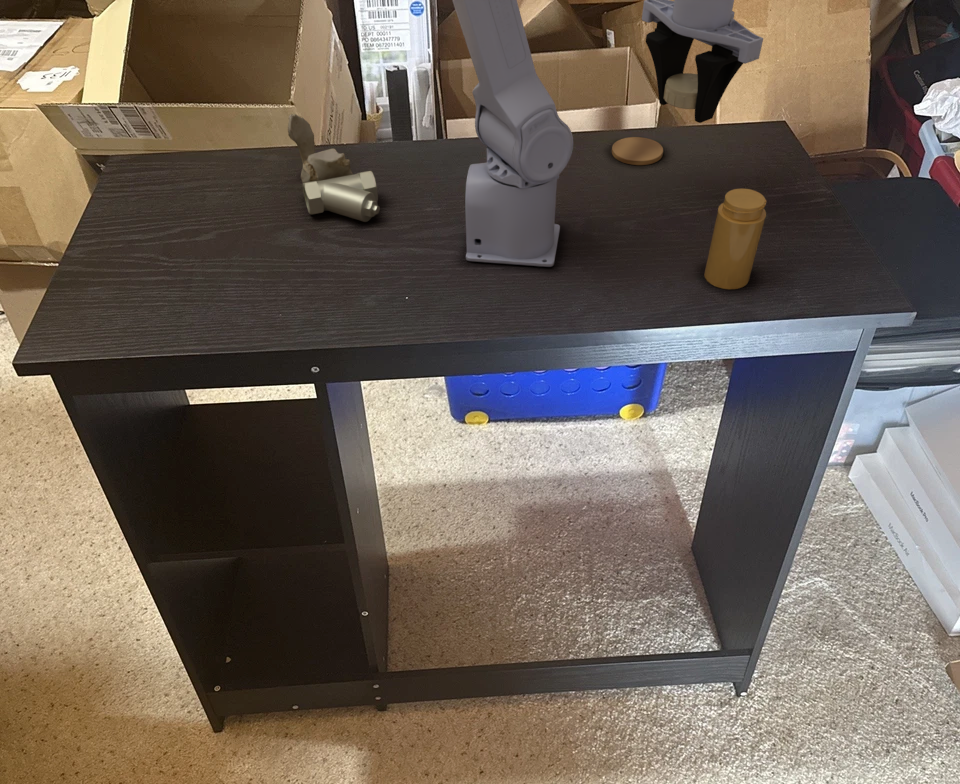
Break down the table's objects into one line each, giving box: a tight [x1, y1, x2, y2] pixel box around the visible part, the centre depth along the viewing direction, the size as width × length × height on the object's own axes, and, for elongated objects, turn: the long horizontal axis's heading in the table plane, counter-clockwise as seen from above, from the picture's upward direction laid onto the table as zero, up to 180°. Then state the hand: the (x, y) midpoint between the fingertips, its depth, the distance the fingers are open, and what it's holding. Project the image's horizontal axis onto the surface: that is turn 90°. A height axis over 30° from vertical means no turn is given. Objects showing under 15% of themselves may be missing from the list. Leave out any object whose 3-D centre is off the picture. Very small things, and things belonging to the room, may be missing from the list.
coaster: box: [611, 136, 664, 166], centre depth 105 cm, size 6×6×1 cm
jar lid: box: [664, 72, 698, 110], centre depth 88 cm, size 5×5×2 cm
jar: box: [703, 188, 767, 290], centre depth 84 cm, size 5×5×9 cm
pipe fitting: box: [301, 170, 381, 223], centre depth 95 cm, size 8×4×7 cm
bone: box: [287, 113, 354, 184], centre depth 98 cm, size 9×6×10 cm
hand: (685, 110), depth 90 cm, fingers closed on jar lid, 5 cm apart
